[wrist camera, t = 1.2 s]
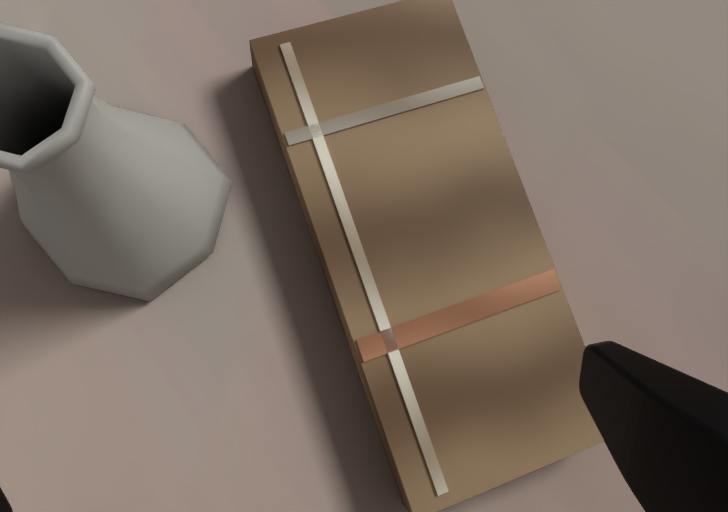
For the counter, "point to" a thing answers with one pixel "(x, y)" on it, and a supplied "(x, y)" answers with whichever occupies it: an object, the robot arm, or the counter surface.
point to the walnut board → (427, 248)
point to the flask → (102, 175)
